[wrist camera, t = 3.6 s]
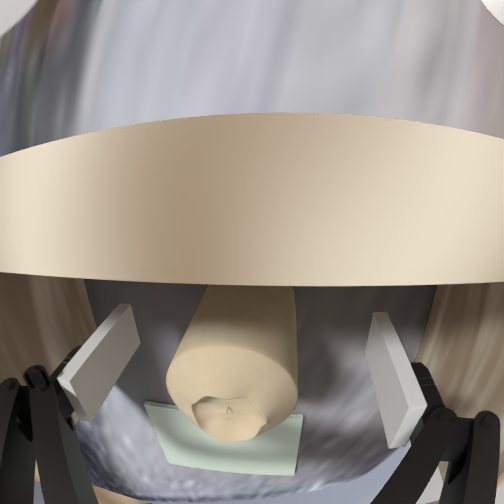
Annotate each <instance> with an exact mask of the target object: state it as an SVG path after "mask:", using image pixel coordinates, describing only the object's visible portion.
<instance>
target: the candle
mask: <svg viewBox="0 0 504 504" xmlns="http://www.w3.org/2000/svg"><path fill="white" fill-rule="evenodd" d="M166 386H167V390H168V392H169V395H170V397H171V398H172V400H173V402H174V403H175V404H176V406H177V407H178V408H179V409H180V411H181V412H182V413H183V414H184V415H185V416H186V417H187V418H188V419H189V420H190V421H192V422H193V423H194V424H195V425H196V426H198V427H199V428H200V429H201V430H202V431H204V432H205V433H207V434H208V435H210V436H211V437H212V438H214V439H215V440H217V441H220V442H225V443H228V442H238V441H246V440H250V439H253V438H255V437H256V436H258V435H260V434H262V433H264V432H266V431H268V430H270V429H272V428H274V427H275V426H277V425H279V424H280V423H282V422H283V421H285V420H286V419H287V418H288V417H289V416H290V415H291V414H292V413H293V411H294V409H295V407H296V405H297V401H298V360H297V329H296V305H295V294H294V290H293V287H292V286H258V285H215V284H209V285H208V287H207V289H206V291H205V293H204V295H203V297H202V299H201V301H200V303H199V305H198V307H197V309H196V311H195V313H194V315H193V317H192V320H191V322H190V324H189V326H188V328H187V330H186V332H185V334H184V336H183V338H182V340H181V343H180V345H179V347H178V349H177V351H176V353H175V355H174V357H173V360H172V362H171V364H170V366H169V368H168V371H167V375H166Z"/></svg>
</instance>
